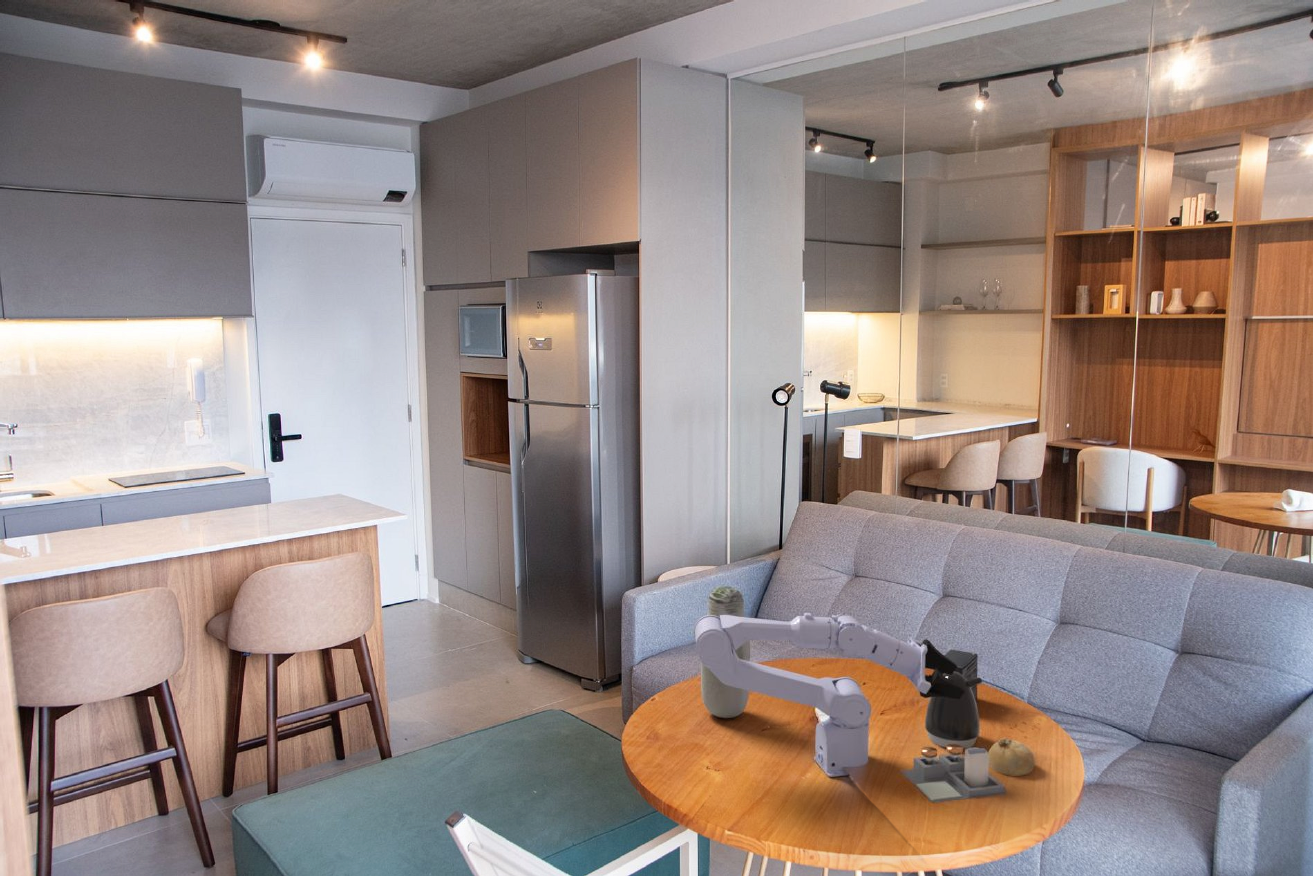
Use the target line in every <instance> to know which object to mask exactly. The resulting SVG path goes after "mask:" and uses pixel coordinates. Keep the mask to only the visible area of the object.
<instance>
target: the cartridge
mask: <svg viewBox="0 0 1313 876" xmlns="http://www.w3.org/2000/svg"><path fill="white" fill-rule="evenodd" d="M988 752H989V750H988V751H987V749H986V748H984V747H981V748H980V747H970V748H966V749H964V758H965V770H964V783H965V784H966V785H967V786H968V787H969V788H979V787H987V786H988V774H990V773H989V771H990V770H989V768H990V765H989V753H988Z"/></svg>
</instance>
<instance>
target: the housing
mask: <svg viewBox="0 0 1313 876" xmlns="http://www.w3.org/2000/svg"><path fill="white" fill-rule="evenodd" d="M925 764H926V757H925V756H920V757H919V756H918V757H913V764H912V765H913V766H912V768H913V769H906V770H899V771H900V773H901V774H902V775H904V776H905V778H906V779H908V780H909V781H910V782H911V784H912V785H914V787H915V788H917V789H918V790H919V791H920V792H921V793H922V794H923V795H924V796H925V797H926V798H927V799H928V800H929V801H930V803H932V804H934V803H941V802H942V803H943V802H951V801H960V800H966V799H967V800H968V799H976V798H977V799H978V798H982V797H983V798H984V797H993V796H1002V795H1007V794H1008V793H1007V791H1006V786H1005V785H1004V784H1003V783H1002V782H1000V781H999V780H998V779H996V778H995V777H994V776H993V775H992V774H990V773H989V774H988V786H987V787H979V788H969V787H968V786H967V785H966V784H965V783H964V770H965V756H963V755H962V754H960V755H958V762H951V754H950V753H948V754H939V755H938V758H937V756H936V757H933V761H932V765H925Z"/></svg>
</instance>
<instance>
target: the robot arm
mask: <svg viewBox="0 0 1313 876" xmlns="http://www.w3.org/2000/svg"><path fill="white" fill-rule="evenodd" d="M693 635H694V638H695V650H696V654H697V655H698V658H699V660H700V664H701V663H702V665H704V666H706V667H707V668H708V669H709V670H710V671H711V672H712V673H713V674H714V675H715V676H716V677H717V678H718V679H719V680H720V681H721V682H722V683H723V684H725V685H728V686H732V687H736V688H740V689H744V690H748V691H749V692H753V693H757V694H761V695H765V696H769V697H771V698H772V697H773V698H776V699H781V700H785V701H790V702H793V703H796V704H802V705H804V706H808V707H814V708H816V709H818V710H819V711H821V712H822V713H824V714H825V715H826V716H828V719H825V720H824V721H820V722H818V723H817V722H816V726H815V735H814V737H815V741H814V742H815V747H814V748H815V750H814V751H815V754H814V757H813V759H814V761H815V762H816V763H817V765H818V766H819V767H820V768H821V769H822V771H824V773H825V774H826V775H827V776H828V778H829V777H830V778H833V777H836V778H837V777H843V776H844V777H845V776H850V773H848V771H847V770H846V769H845V768H857V767H862V766H864V765H866V764H868V762H869V741H870V740H869V735H870V734H869V732H870V730H869V729H870V727H869V726H870V725H869V724H870V722H869V721H870V717H871V714H872V705H871V703H870V701H869V699H868V698H867V697H866V696H865V694H864V692H863V691H862V689H861V686H860V684H859V682H858V681H857V680H856V679H854V678H852V677H848V676H841V677H837V678H835V677H829V676H825V677H821V678H816V677H813V676H808V675H804V674H801V673H796V672H793V671H789V670H784V669H780V668H777V667H772V666H769V665H765V664H761V663H756V662H753V661H750V662H749V661H745V660H741V659H739V658H738V656H737V654H736V652H735V651H734V649H735V650H737V649H738V648H739V647H740V646H741V645H743V644H744V643H745V642H746V641H747V640H750V641H790V642H792V644H793V645H794V646H795V647H797V648H805V649H825V650H827V649H828V650H832V649H837V648H838V650H840V651H842V652H843V654H844V655H847V656H852V655H853V656H854V655H858V656H860V657H863V658H864V659H865V660H868V661H870V662H872V663H874V664H876V665H879V666H881V667H884V668H886V669H888V670H890V671H893V672H895V673H897V674H900V675H902V676H904V677H906V678H907V679H908V680H909V681H910V682H911V683H912V684H913V686H914V687H915V689H916V691H918V692H919V695H920V697H922V698H924V699H930V697H947V698H954V699H960V698H961V696H962V695H963V694H964V692H965V690H964V689H963V688H962V687H961V686H959V685H958V684H956V683H954V682H952V681H950V680H949V679H947V678H946V677H945V676H943V675H942V674H941V673H940V672H942V673H945V674H950V675H952V674H953V672H954V671H955V669H956V668H957V665H956V664H955V663H953V662H952V661H951V660H949V659H948V658H947V657H945V656H944V655H945V654H943V653H941V652H940V650H938V649H937V648H936V647H935V646H934V645H933V643H931V641H930V640H929V639H927V638H925V639H924V640H922V642H921V643H920V640H918V639H916V638H913V637H911V636H910V638H909V639H908V640H907V642H905V641H903V640H901V639H898V638H896V637H894V636H891V635H890V634H887V633H886V632H885V633H884V632H883V631H880V630H878V629H875V628H871V627H870V626H867V625H865V624H860V623H859V621H858V620H857V619H856V618H854V617H853V616H852V615H848V614H844V613H840V614H836V615H834V614H831V617H827V616H813V615H812V613H811V612H804V613H803V615H797V616H795V617H794V618H793V619H792V620H789V621H785V620H775V619H764V618H755V617H754V618H753V617H745V616H744V617H738V616H731V615H720V618H719V617H718V616H715V615H707V614H706V615H704V616H703V615H702V617H700V618H699V619H698V620H697V621H696V622H695V624H694V627H693ZM732 645H734V649H733V647H732ZM926 669H929V670H933V672H932V674H926Z"/></svg>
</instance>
